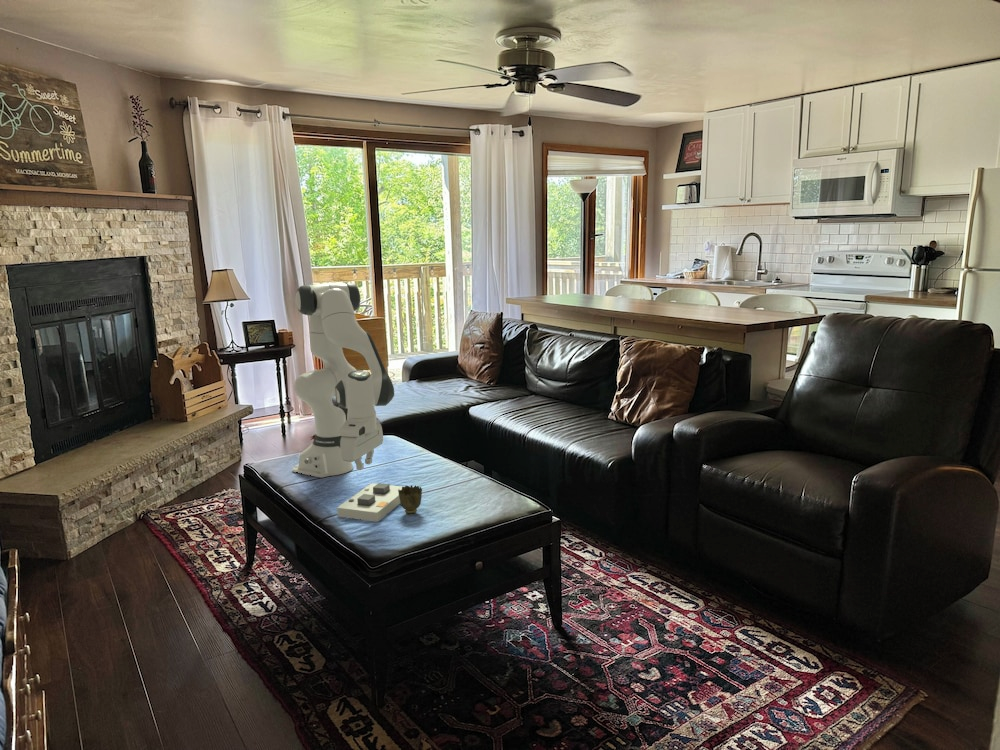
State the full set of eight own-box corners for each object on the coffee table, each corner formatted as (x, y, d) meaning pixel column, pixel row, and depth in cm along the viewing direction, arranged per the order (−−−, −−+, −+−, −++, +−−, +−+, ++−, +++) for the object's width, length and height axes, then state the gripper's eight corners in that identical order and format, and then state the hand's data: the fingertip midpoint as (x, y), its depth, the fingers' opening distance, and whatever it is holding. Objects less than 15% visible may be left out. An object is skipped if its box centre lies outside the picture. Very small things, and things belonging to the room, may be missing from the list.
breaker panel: (337, 516, 206) (337, 506, 205) (372, 491, 226) (371, 482, 225) (377, 521, 201) (377, 511, 201) (409, 495, 222) (408, 486, 221)
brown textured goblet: (409, 506, 213) (408, 483, 211) (427, 511, 209) (426, 487, 207) (394, 514, 206) (393, 490, 205) (413, 519, 203) (412, 495, 201)
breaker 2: (373, 496, 217) (372, 487, 216) (379, 492, 220) (378, 483, 220) (384, 497, 215) (383, 488, 215) (390, 493, 219) (389, 484, 219)
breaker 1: (358, 508, 207) (357, 498, 207) (364, 503, 211) (363, 493, 210) (369, 509, 206) (368, 499, 206) (375, 504, 210) (374, 495, 209)
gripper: (369, 414, 214) (371, 455, 217) (335, 432, 195) (338, 476, 198) (386, 416, 212) (389, 457, 215) (354, 433, 193) (357, 478, 196)
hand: (364, 466), depth 206 cm, fingers open, 4 cm apart
